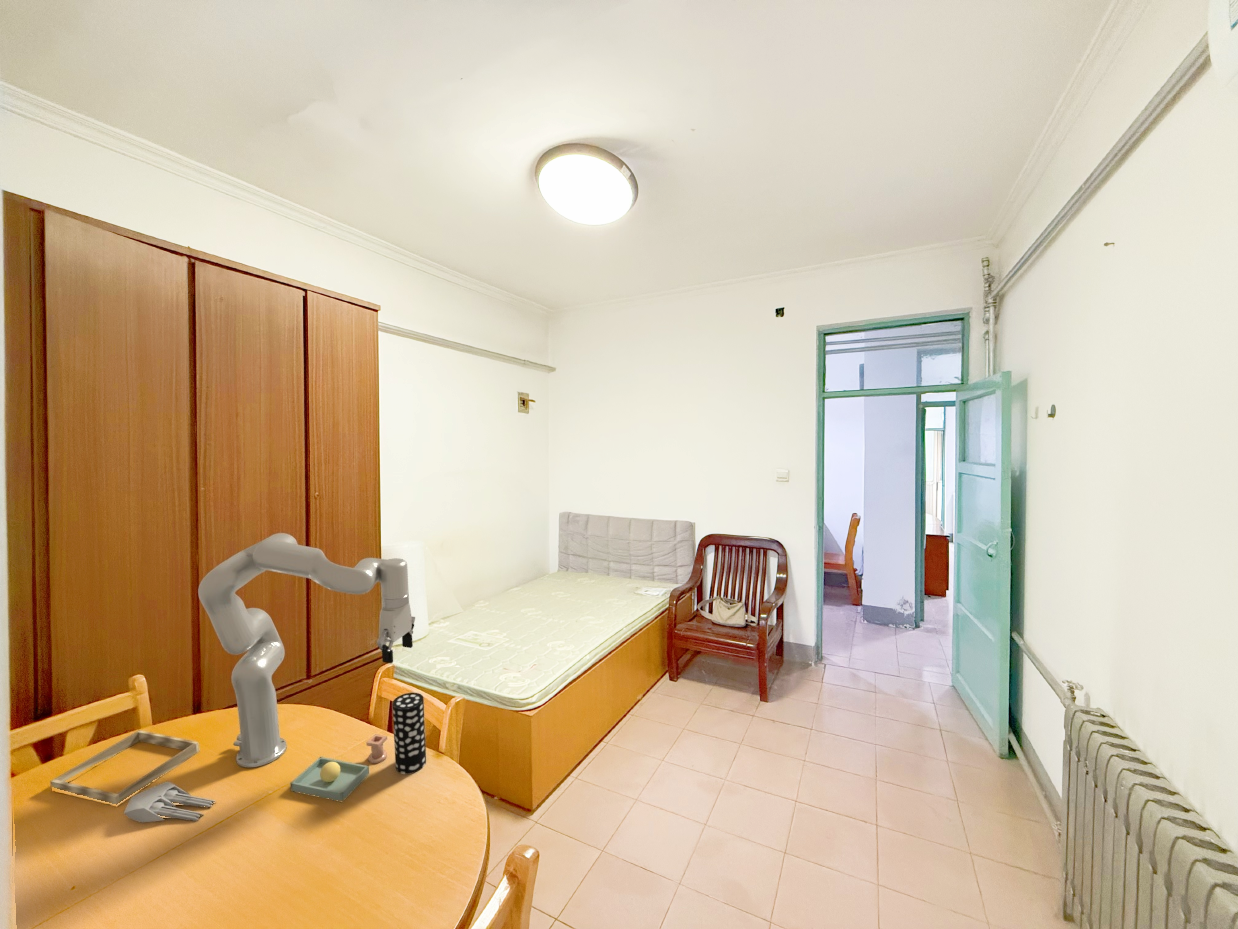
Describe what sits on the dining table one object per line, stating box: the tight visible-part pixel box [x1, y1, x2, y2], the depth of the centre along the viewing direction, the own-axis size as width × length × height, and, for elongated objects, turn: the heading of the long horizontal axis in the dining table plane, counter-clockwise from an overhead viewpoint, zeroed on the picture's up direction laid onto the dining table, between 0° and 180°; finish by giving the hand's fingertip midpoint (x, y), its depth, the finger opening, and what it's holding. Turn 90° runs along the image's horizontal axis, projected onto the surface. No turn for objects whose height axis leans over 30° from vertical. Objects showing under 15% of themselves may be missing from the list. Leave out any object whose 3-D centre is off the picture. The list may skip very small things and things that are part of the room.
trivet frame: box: [49, 730, 200, 805], centre depth 159 cm, size 23×23×3 cm
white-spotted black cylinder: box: [392, 692, 427, 775], centre depth 162 cm, size 8×8×20 cm
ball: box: [320, 762, 340, 782], centre depth 155 cm, size 5×5×5 cm
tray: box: [290, 756, 370, 802], centre depth 156 cm, size 16×11×2 cm
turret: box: [123, 780, 217, 823], centre depth 145 cm, size 10×20×5 cm, turn 88°
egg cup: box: [365, 733, 388, 764], centre depth 165 cm, size 5×5×6 cm
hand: (398, 654), depth 170 cm, fingers open, 9 cm apart
